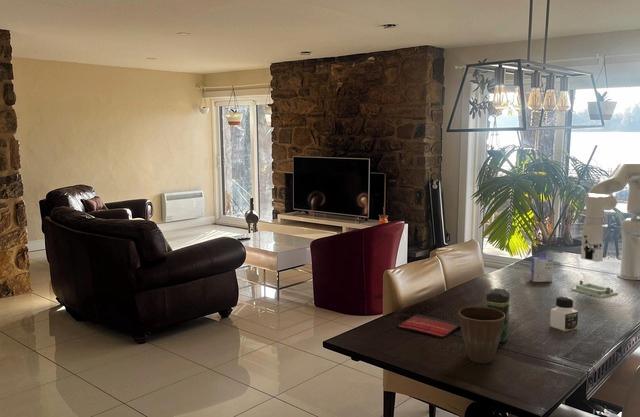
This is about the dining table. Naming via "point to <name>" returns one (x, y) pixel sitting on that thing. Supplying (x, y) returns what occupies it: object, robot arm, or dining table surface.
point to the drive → (593, 254)
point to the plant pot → (481, 332)
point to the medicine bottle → (564, 314)
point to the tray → (594, 290)
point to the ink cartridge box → (541, 268)
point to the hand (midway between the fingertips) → (591, 258)
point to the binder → (429, 326)
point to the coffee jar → (500, 307)
